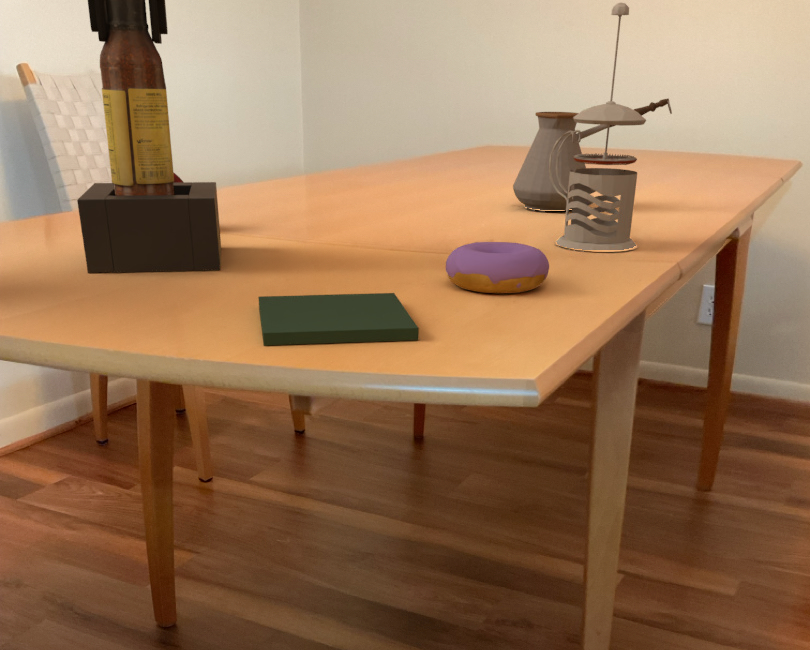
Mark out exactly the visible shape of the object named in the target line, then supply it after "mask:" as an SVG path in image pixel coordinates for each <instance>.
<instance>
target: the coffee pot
mask: <svg viewBox="0 0 810 650" xmlns="http://www.w3.org/2000/svg"><path fill="white" fill-rule="evenodd" d="M664 106H667V109H668V112H669V114H670V115H672V114H673V112H672V107H671V103H670V99H669V97H668V98H663V99H660V100H659V101H657V102H653V101H651V102H650V103H649V104H648V105H645V106H641V107H638V108H637V107H636V108H634V109H633V110H635V111H636V112H638V113H639V114H640V115H641V116H642V117H643V116H644V115H646V114H647V113H649V112H655V111H656V110H657V109H658V108H663V107H664ZM578 113H579V112H573V111H571V112H570V111H537V112H535V116H536V117H537V120H538V121H537V122H538V130H537V133H536V134H535V136H534V138H533V141H532V143H531V145H530V147H529V150H528V152H527V154H526V156H525V158H524V161H523V163H522V164H521V167H520V169H519V172H518V173H517V176H516V179H515V180H514V183H513V184H512V189H513V193H514V195H515V197H516V199H517V200H518V201H519V202H520V203H522V204H523V205H524V206H525V207H527V208H532V209H540V210H566V202H567V201H566V199H565V198H564V197H563V196H561V195H560V194H559V193H558V192H557V191H556V190H555V188H554V187H553V185H552V182H551V179H550V174H549V161H550V155H551V151H552V149H553V147H554V145H555V143H556V141H557V140H558V139H559V138H560V137H561V136H562V135H564V134H565V133H567V132H568V131H570V130H571V131H573V132H574V131H575V130H576V127H577V124H578V123H576V122H575V121H574V119H573V117H574V116H576V115H577V114H578ZM616 126H617V125H610V127H609V129H610V128H613V127H616ZM607 128H608V125H600V124H597V125H596V126H593V127H591V128H588V129H585V130H582V131H581V133H582V135H581V140H584V139H585V138H587V137H590V136H592V135H594V134H597V133H599V132H601V131H604V130H606V129H607ZM569 134H571V133H569ZM569 134H567V135H566V136H564V137H563V138H562V139H561V140H560V141H559V142H558V144H557V146H556V148H555V150H554V152H553V155H552V164H551V172H552V179H553V182H554V185H555V186H556V188H557V189H558V190H559V192H561V193H562V194H563V195H565V196H566V197H568V194H567V193H566V192H564V190H563V189H562V188H561V186H560V185H559V182H558V178H557V173H556V161H557V153H558V150H559V148H560V146H561V144H562V142H563V140H564V139H565V138H566V137H567V136H568V135H569ZM578 140H579V133H578V132H577V133H575V140H574V141H575V142H578ZM578 154H583V153H582V149H581V146H580V142H579V143H578V144H574V143H573V142H572V135H571V136H570V137H569V138H568V139H567V140H566V141H565V142H564V144H563V146H562V148H561V151H560V154H559V161H558V172H559V178H560V181H561V184H562V185H563V187H564V188H565V189H566V190H567V191H568V186H569V175H570V170H573V172H574V173H576V169H581V168H587V166H586V164H585V162H584V163H580V162H576V161H575V160H574V156H575V155H578ZM572 190H574V184H572V185H571V191H572ZM570 202H573V199H572V197H570ZM570 209H572V208H570Z"/></svg>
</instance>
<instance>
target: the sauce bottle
mask: <svg viewBox="0 0 810 650" xmlns="http://www.w3.org/2000/svg"><path fill="white" fill-rule="evenodd" d="M146 5H147V4H146V0H106V10H107V20H108V21H107V27H108V39H107V40H106V42H103V46H102V49H101V51H100V55H99V69H100V77H101V86H102V88H101V94H102V95H101V96H102V105H103V112H104V123H105V130H106V131H105V132H106V141H107V150H108V159H109V167H110V168H109V169H110V179H111V183H113V185H114V190H115V194H116V196H131V195H174V186H173V182H174V173H175V172H174V164H173V162H174V161H173V152H172V142H171V129H170V128H171V127H170V117H169V104H168V94H167V93H168V92H167V85H166V80H165V74H164V66H163V60H162V57H161V55H160V53H159V51H158V49H157V46H156V45H155V42H152V35H151V34H150V32H149V24H148V17H147V6H146ZM173 172H174V173H173Z"/></svg>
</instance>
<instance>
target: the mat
mask: <svg viewBox="0 0 810 650" xmlns="http://www.w3.org/2000/svg"><path fill="white" fill-rule="evenodd" d="M258 310H259V319H260V327H261V334H262V343H263V346H290V345H291V346H292V345H293V346H294V345H319V344H320V345H321V344H346V343H347V344H349V343H375V342H376V343H378V342H379V343H381V342H402V341H403V342H405V341H406V342H408V341H419V338H420V337H419V334H420V333H419V332H420V331H419V330H420V328H419V326H418V325H417V323H416V322H415V321H414V319H413V318H412V316H411V315H410V313H409V312H408V311H407V309H406V308H405V306H404V305H403V304H402V302H401V301H400V299H399V297H398V296H397V294H396V293H395V292H379V293H378V292H377V293H376V292H375V293H374V292H373V293H342V294H341V293H337V294H336V293H335V294H302V295H266V296H258Z"/></svg>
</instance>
